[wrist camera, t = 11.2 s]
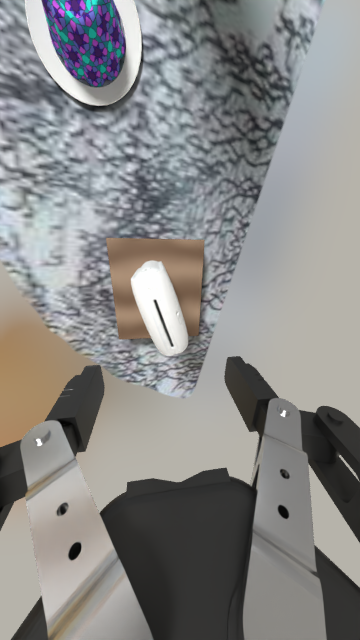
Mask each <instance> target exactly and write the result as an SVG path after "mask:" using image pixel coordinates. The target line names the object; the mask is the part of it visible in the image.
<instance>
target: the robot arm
mask: <svg viewBox="0 0 360 640" xmlns="http://www.w3.org/2000/svg"><path fill="white" fill-rule="evenodd" d="M225 383H226V386H227V388H228V390H229V392H230V394H231V396H232V398H233V400H234V402H235V404H236V406H237V408H238V410H239V412H240V414H241V416H242V418H243V420H244V422H245V424H246V426H247V428H248V430H249V432H253V431H257V432H258V434H259V439H258V445H257V450H256V456H255V462H254V468H253V473H252V478H251V482H250V485H249V484H247V483H245V482H244V481H242V480H239V479H237V478H234V477H230V476H229V474H228V471H227V468H221V469H213V470H208V471H202V472H200V473H198V474H196V475H194V476H193V477H190V478H188V479H186V480H184V481H182V482H171V481H165V480H159V479H154V478H153V479H145V480H139V481H132V482H127V491H126V492H125V493H123V494H121V495H119V496H118V497H116V498H115V499H114V500H112V501H111V502H110V503H109V504H108V505H107V506H106V507H105V508H104V509H103V510H102V511H101V512H100V513H99V511H98V509H97V506H96V504H95V502H94V500H93V497H92V495H91V492H90V490H89V488H88V486H87V483H86V481H85V478H84V476H83V474H82V471H81V469H80V467H79V464H78V462H77V460H76V458H75V456H76V454H77V452H84V451H86V448H87V445H88V442H89V439H90V435H91V433H92V429H93V426H94V423H95V420H96V417H97V414H98V411H99V408H100V405H101V402H102V398H103V395H104V382H103V376H102V372H101V366H100V365H93V366H86V367H85V368H84V370H83V372H82V374H81V375H76V376H75V377H73V378H72V379H71V380H70V381H69V382H68V383H67V385H66V387H65V388H64V391H62V393H61V395H60V397H59V398H58V400H57V401H56V403H55V405H54V406H53V408H52V410H51V412H50V413H49V415H48V416H47V418H46V419H45V421H44V422H42V423H40V424H38V425H37V426H35V427H33V428H32V429H31V430H30V431H29V432H27V433H26V435H25V436H24V437H23V439H22V440H19V441H16V442H14V443H11V444H8V445H5V446H3V447H0V530H1V528H2V526H3V524H4V522H5V520H6V518H7V516H8V514H9V512H10V510H11V508H12V505H13V503H14V501H16V500H19V499H21V498H23V497H25V498H26V505H27V511H28V516H29V522H30V529H31V534H32V540H33V546H34V552H35V558H36V564H37V570H38V576H39V582H40V588H41V594H42V596H41V597H40V598H39V600H38V601H37V603H36V604H35V606H34V607H33V609H32V610H31V611H30V613H29V614H28V616H27V617H26V619H25V620H24V621H23V623H22V624H21V626H20V627H19V629H18V630H17V632H16V633H15V634H14V636H13V637H12V639H11V640H360V588H359V587H358V586H357V585H356V584H355V583H354V582H353V581H352V580H351V579H350V578H349V577H348V576H347V575H346V574H345V573H344V572H342V570H341V569H339V568H338V567H337V566H336V565H335V564H334V563H333V562H332V561H330V559H329V558H328V557H327V556H326V555H325V554H324V553H322V552H321V551H320V550H319V549H318V548H317V547H316V546H315V545H314V536H313V522H312V508H311V495H310V482H309V468H308V463H309V465H310V466H311V468H312V469H313V471H314V472H315V474H316V476H317V477H318V479H319V480H320V482H321V483H322V485H323V486H324V488H325V489H326V491H327V492H328V494H329V496H330V497H331V499H332V500H333V502H334V503H335V505H336V506H337V508H338V510H339V511H340V513H341V514H342V515H343V517H344V519H345V521H346V522H347V524H348V525H349V527H350V528H351V530H352V531H353V533H354V534H355V536H356V538H357V539H358V541H359V542H360V482H359V481H360V428H359V427H358V426H357V425H356V424H355V423H354V422H353V421H352V420H351V419H350V418H349V417H348V416H347V415H345V414H344V413H342V412H341V411H339V410H337V409H335V408H332V407H329V406H321V407H319V408H318V409H317V411H316V413H313V412H306V411H301V410H298V409H297V407H296V406H295V405H293V404H292V403H291V402H289V401H287V400H285V399H281V398H279V397H278V396H277V395H276V393H275V392H274V391H273V390H272V388H271V387H270V386H269V385H268V383H267V382H266V381H265V380H264V378H263V377H262V376H261V375H260V373H259V372H258V371H257V370H256V369H255V368H254V367H253V366H251V365H250V364H246V363H245V362H244V361H243V360H242V358H241V357H240V356H236V357H228V358H227V363H226V369H225ZM339 455H341V456H342V457H343V458H344V460H345V461H346V462H347V463H348V464H349V465H350V467H351V468H352V469H353V471H354V472H355V473H356V475H357V476H358V479H359V481H358V480H357V479H356V477H355V476H354V475H353V474H352V472H351V471H350V470H349V468H348V467H347V466H346V465H345V463H344V462H343V461H342V460H341V458H339Z"/></svg>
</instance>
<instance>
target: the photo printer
mask: <svg viewBox="0 0 360 640" xmlns="http://www.w3.org/2000/svg"><path fill="white" fill-rule="evenodd" d="M131 286H132V290H133V294H134V297H135V300H136V303H137V306H138V308H139V311H140V313H141V316H142V318H143V321H144V323H145V325H146V328H147V330H148V332H149V334H150V336H151V338H152V340H153V342H154V344H155V346H156V347H157V349H158V350H159V351H160V352H161V353H162V354H163V355H165V356H172V355H174V354H178V353H182V352H183V351H184V350H185V349H186V348H187V346H188V333H187V329H186V325H185V321H184V318H183V315H182V311H181V308H180V305H179V302H178V299H177V296H176V293H175V291H174V288H173V285H172V283H171V281H170V278H169V276H168V274H167V272H166V269H165V267H164V265H163V263H162V262H161V261H160V262H157V261H153V260H152V261H147V262H145V263H144V264H143V265H142V267H141V268H138V269H137V271H136V272H135V274H134V275H133V277H132V278H131Z"/></svg>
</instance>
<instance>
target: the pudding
mask: <svg viewBox="0 0 360 640" xmlns="http://www.w3.org/2000/svg"><path fill="white" fill-rule="evenodd" d="M25 7H26V16H27V21H28V27H29V30H30V34H31V37H32V40H33V43H34V46H35V48H36V50H37V53H38V55H39V57H40V59H41V61H42V62H43V64H44V66H45V68H46V69H47V71H48V72H49V73H50V75H51V76H52V77H53V79H54V80H55V81H56V82H57V83H58V84H59V85H60V86H61V88H62V89H63V90H65V91H66V92H67V93H68V94H70V95H71V96H72V97H74V98H76V99H77V100H79V101H81V102H84V103H87V104H89V105H96V106H104V105H109V104H112V103H115V102H117V101H118V100H120V99H121V98H123V97H124V95H125V94H126V93H127V92H128V91H129V90H130V88H131V86H132V85H133V83H134V81H135V79H136V76H137V74H138V70H139V66H140V61H141V51H142V41H141V29H140V22H139V17H138V14H137V10H136V6H135V3H134V0H25ZM116 7H117V8H116ZM117 9H118V11H119V14H120V16H121V19H122V22H123V26H124V31H125V37H126V46H125V39H124V35H123V33H122V30H121V27H120V17H119V14H118V11H117ZM49 32H50V34H49ZM50 36H51V38H50ZM51 40H52V41H51ZM53 46H54V47H53ZM54 48H55V49H54ZM125 48H126V56H125V61H124V65H123V67H122V70H121V72H120V63H119V60H120V59H121V58H122V57H123V56H124V54H125ZM55 50H56V52H57V53H58V54H59V55H61V56H62V57H63V58H64V61H65V65H66V68H67V70H68V71H69V72H70V73H69V72H68V71H67V70H66V68H65V67H64V66H63V64H62V63H61V61H60V59H59V58H58V56H57V54H56V52H55ZM119 72H120V74H119ZM118 74H119V75H118ZM73 76H74V77H75V78H77V79H84V78H85V80H86V81H87V82H88V83H89V84H90V86H94V87H90V86H87V85H85V84H83V83H81V82H79V81H78V80H77V79H75V78H74V77H73ZM117 76H118V77H117ZM116 77H117V78H116ZM115 78H116V79H115ZM106 79H107V80H112V81H113V80H114V79H115V80H114V81H113V82H112V83H111V84H109V85H107V86H104V87H100V86H102V85H103V83H104V82H105V80H106ZM96 87H97V88H96Z"/></svg>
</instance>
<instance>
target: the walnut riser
mask: <svg viewBox="0 0 360 640" xmlns="http://www.w3.org/2000/svg"><path fill="white" fill-rule="evenodd" d="M106 241H107V249H108V256H109V264H110V272H111V280H112V287H113V295H114V303H115V310H116V318H117V326H118V334H119V339H140V338H151V336H150V334H149V332H148V330H147V328H146V325H145V323H144V321H143V318H142V316H141V313H140V311H139V308H138V306H137V303H136V300H135V297H134V294H133V290H132V286H131V278H132V277H133V275H134V274H135V272H136V271H137V269H138V268H141V267H142V265H143V264H144V263H145V262H147V261H152V260H153V261H157V262H160V261H161V262H162V263H163V265H164V267H165V269H166V272H167V274H168V276H169V278H170V281H171V283H172V285H173V288H174V291H175V293H176V296H177V299H178V302H179V305H180V308H181V311H182V315H183V318H184V321H185V325H186V329H187V333H188V336H198V335H199V320H200V304H201V288H202V273H203V257H204V241H205V240H182V239H133V238H106Z"/></svg>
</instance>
